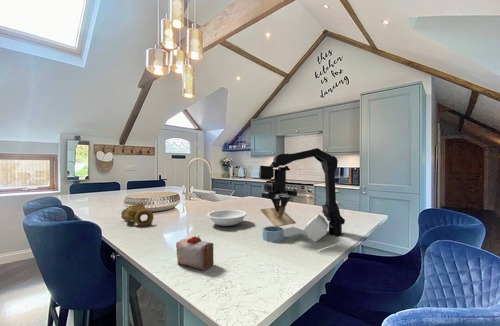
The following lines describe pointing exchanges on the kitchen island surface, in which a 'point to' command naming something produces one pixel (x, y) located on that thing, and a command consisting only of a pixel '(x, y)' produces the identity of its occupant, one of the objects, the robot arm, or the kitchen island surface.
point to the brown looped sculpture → (137, 214)
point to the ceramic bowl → (272, 234)
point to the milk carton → (316, 228)
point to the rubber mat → (294, 233)
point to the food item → (195, 253)
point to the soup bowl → (227, 217)
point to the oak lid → (278, 216)
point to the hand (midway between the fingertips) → (279, 211)
